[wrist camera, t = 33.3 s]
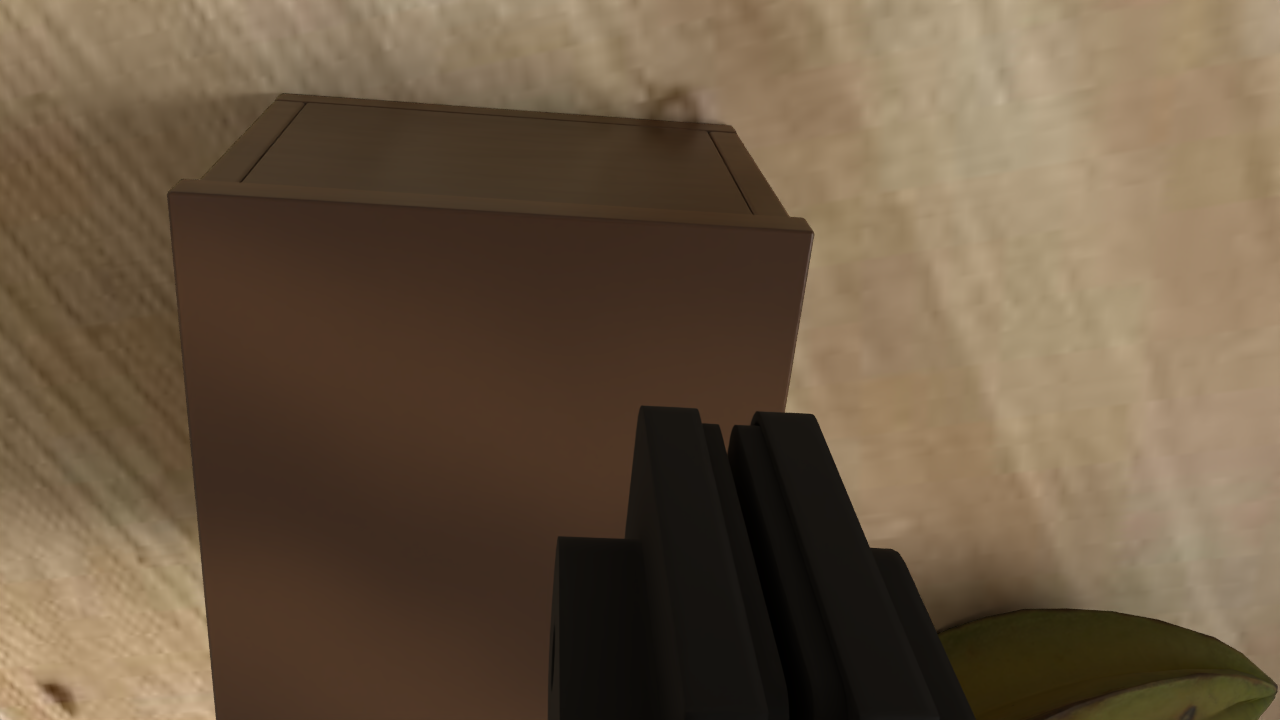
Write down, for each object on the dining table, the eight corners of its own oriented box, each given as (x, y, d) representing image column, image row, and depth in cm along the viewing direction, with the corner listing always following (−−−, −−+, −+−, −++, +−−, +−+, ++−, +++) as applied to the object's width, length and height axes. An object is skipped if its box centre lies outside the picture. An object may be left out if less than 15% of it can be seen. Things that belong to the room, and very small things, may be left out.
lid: (180, 176, 18) (165, 191, 17) (805, 216, 19) (816, 232, 18) (231, 761, 23) (221, 791, 23) (716, 764, 25) (722, 792, 24)
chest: (280, 92, 25) (181, 194, 18) (733, 125, 26) (803, 233, 19) (302, 546, 30) (232, 760, 23) (677, 556, 31) (716, 762, 25)
